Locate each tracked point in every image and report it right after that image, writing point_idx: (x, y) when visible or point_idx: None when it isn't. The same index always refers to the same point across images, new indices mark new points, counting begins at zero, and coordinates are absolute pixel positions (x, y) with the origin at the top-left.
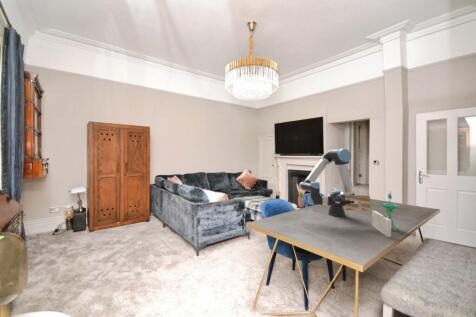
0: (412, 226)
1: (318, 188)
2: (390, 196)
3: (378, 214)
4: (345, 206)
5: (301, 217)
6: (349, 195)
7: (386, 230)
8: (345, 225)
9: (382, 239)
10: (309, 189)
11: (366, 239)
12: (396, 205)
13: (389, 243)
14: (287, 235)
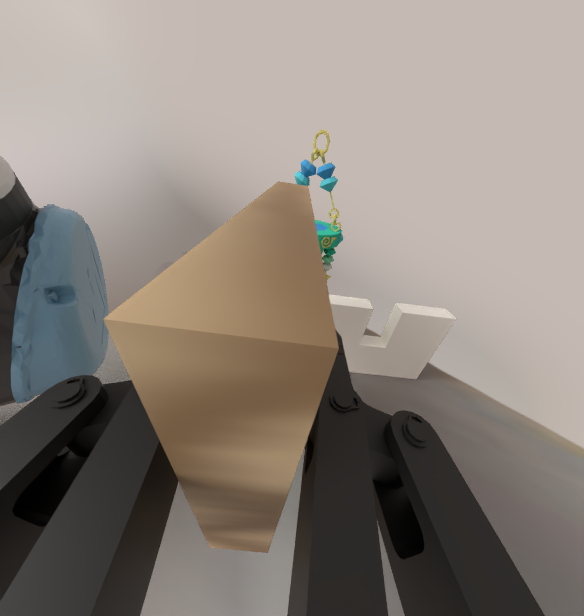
0: None
1: None
2: (332, 172)
3: (346, 305)
4: (228, 535)
5: None
6: (281, 246)
7: (420, 360)
8: (278, 602)
9: (475, 417)
10: None
11: (574, 530)
12: (316, 221)
13: (511, 412)
14: None
